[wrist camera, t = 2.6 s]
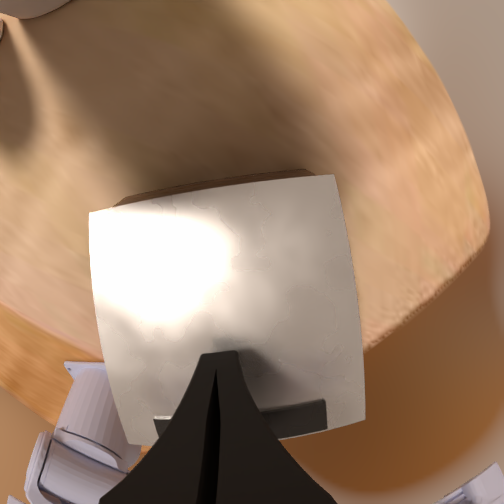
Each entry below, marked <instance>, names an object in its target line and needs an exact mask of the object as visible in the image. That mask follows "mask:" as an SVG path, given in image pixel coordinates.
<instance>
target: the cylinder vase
mask: <svg viewBox="0 0 504 504" xmlns="http://www.w3.org/2000/svg"><path fill="white" fill-rule="evenodd" d="M69 1H70V0H0V13H3V14H7V15H10V16H13V17H16V18H19V19H30V18H35V17H38V16H41V15H44V14H46V13H49V12H51V11H53V10H55V9H57V8H59V7H60V6H62V5H64V4H66V3H67V2H69Z"/></svg>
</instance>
